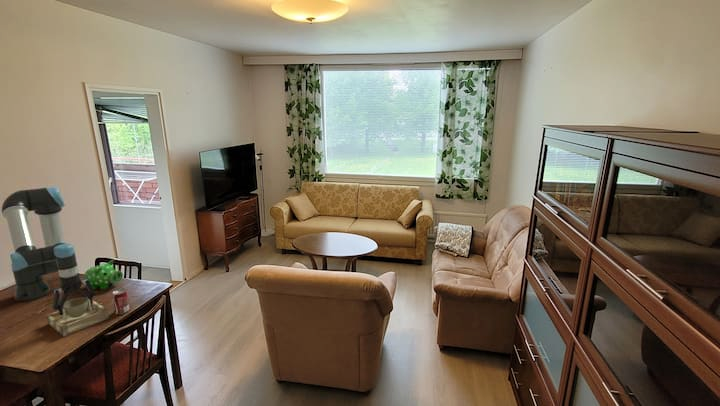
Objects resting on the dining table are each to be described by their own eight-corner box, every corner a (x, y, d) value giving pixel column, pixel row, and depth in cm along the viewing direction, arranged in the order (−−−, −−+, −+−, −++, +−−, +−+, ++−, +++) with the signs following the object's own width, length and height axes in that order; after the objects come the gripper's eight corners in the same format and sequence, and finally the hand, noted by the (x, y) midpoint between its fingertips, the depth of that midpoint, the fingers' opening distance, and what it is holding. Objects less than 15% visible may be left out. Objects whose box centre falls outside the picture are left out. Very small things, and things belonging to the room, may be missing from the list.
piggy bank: (110, 292, 204) (106, 269, 201) (80, 291, 204) (75, 268, 201) (126, 281, 218) (122, 259, 215) (98, 280, 218) (94, 259, 215)
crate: (48, 324, 173) (46, 314, 171) (92, 307, 188) (90, 298, 187) (63, 336, 163) (61, 326, 162) (108, 317, 179) (107, 308, 178)
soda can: (132, 309, 187) (129, 289, 184) (120, 316, 180) (116, 295, 177) (123, 307, 189) (120, 287, 186) (111, 313, 182) (107, 293, 180)
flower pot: (76, 321, 169) (73, 308, 168) (59, 319, 171) (57, 306, 169) (95, 311, 179) (92, 298, 177) (79, 308, 181) (76, 296, 179)
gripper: (42, 285, 158) (52, 328, 164) (99, 268, 177) (106, 306, 182) (36, 281, 162) (46, 323, 167) (92, 265, 181) (99, 302, 186)
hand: (77, 314), depth 175 cm, fingers closed on flower pot, 10 cm apart
